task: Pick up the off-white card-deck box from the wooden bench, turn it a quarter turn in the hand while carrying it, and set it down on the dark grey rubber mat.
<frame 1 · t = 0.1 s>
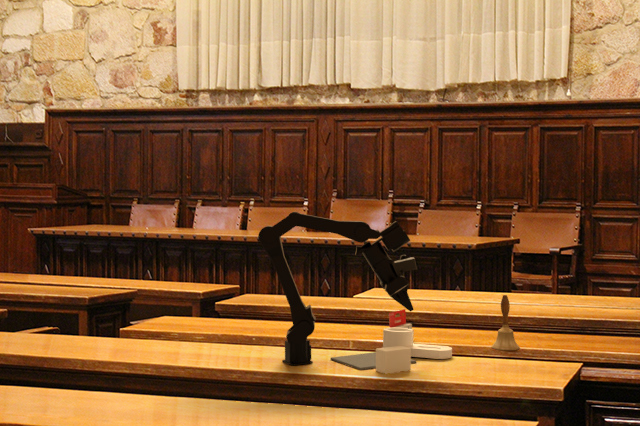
hand: (409, 308, 225), 15 cm above the table, tool tilted 30°, fingers open, 9 cm apart
grey rubber mat: (372, 361, 226), on the table
hand bell: (505, 348, 245), on the table
bracket: (416, 354, 234), on the table, touching grey rubber mat
card deck box: (393, 371, 214), on the table
ink cartridge box: (400, 342, 256), on the table
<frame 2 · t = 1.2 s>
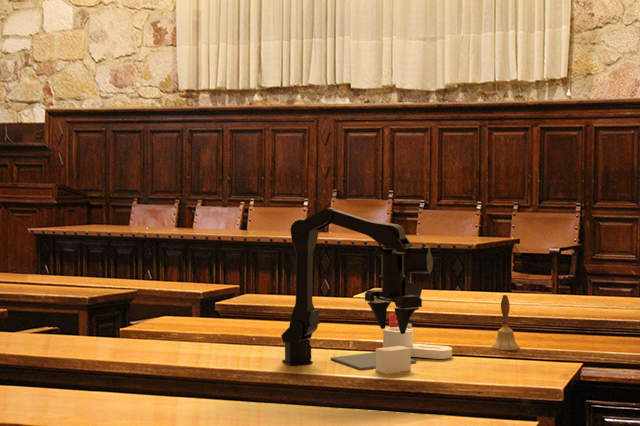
hand: (392, 331, 214), 10 cm above the table, tool pointing down, fingers open, 9 cm apart
nothing on the table moved.
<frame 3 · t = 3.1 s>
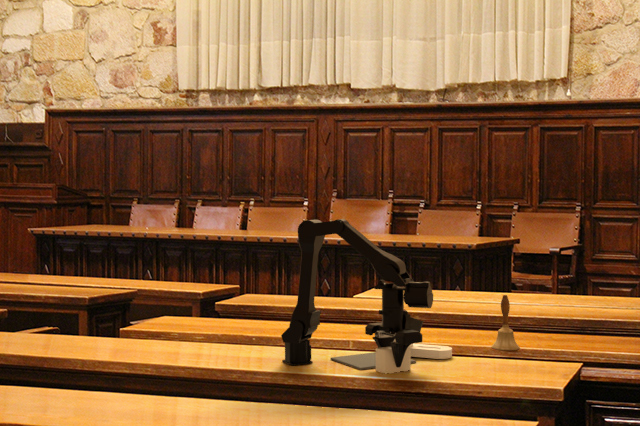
hand: (393, 365, 214), 1 cm above the table, tool pointing down, fingers closed on card deck box, 4 cm apart
card deck box: (393, 370, 214), on the table, touching gripper
everything else where it was.
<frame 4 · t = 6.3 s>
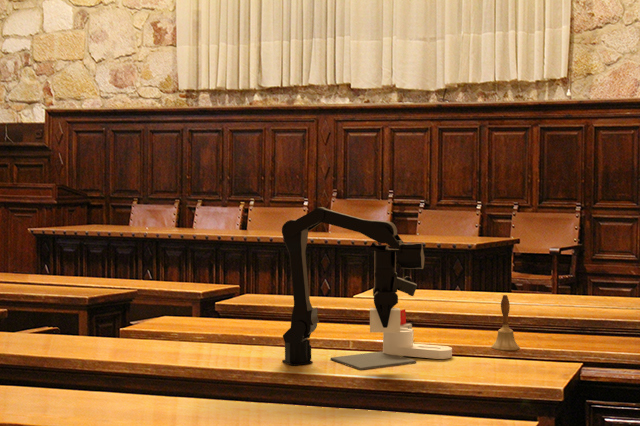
hand: (384, 326, 218), 11 cm above the table, tool pointing down, fingers closed on card deck box, 4 cm apart
card deck box: (384, 331, 218), point 10 cm above the table, touching gripper
everything else where it was.
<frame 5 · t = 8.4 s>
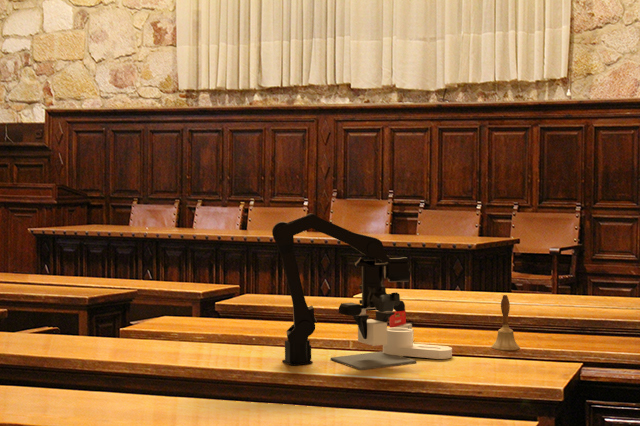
hand: (372, 338, 226), 6 cm above the table, tool pointing down, fingers closed on card deck box, 4 cm apart
card deck box: (372, 342, 226), point 5 cm above the table, touching gripper
everything else where it was.
when the fingers open (3 cm above the table, at t = 9.9 s): card deck box drops 1 cm, resting on grey rubber mat.
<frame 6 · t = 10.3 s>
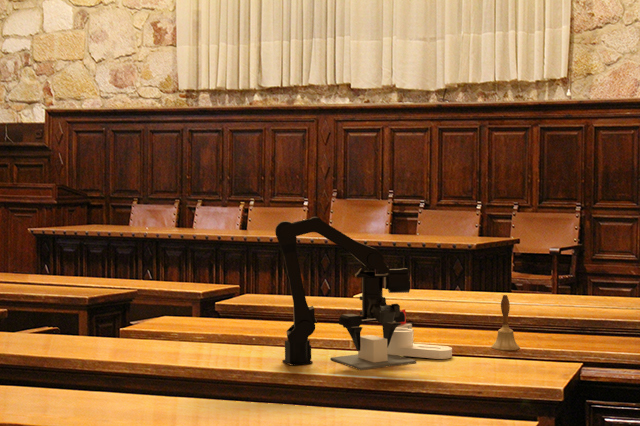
hand: (372, 349, 226), 3 cm above the table, tool pointing down, fingers open, 9 cm apart
card deck box: (372, 359, 226), point 1 cm above the table, touching grey rubber mat
everything else where it was.
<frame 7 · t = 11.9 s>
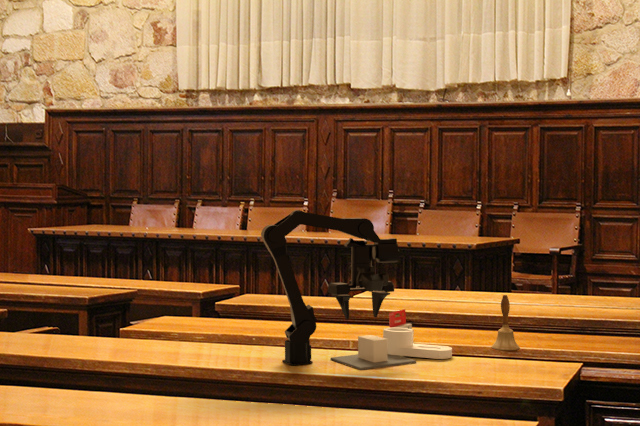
hand: (361, 318, 228), 12 cm above the table, tool pointing down, fingers open, 9 cm apart
nothing on the table moved.
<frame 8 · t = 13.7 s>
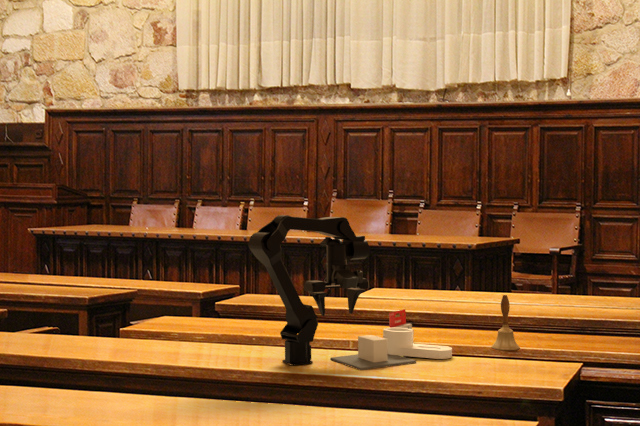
hand: (337, 314, 233), 12 cm above the table, tool pointing down, fingers open, 9 cm apart
nothing on the table moved.
at the end: card deck box inside the target area on the grey rubber mat (0.0 cm from its centre), point 0.6 cm above the grey rubber mat's base; card deck box tilted 0°; the gripper is holding nothing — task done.
